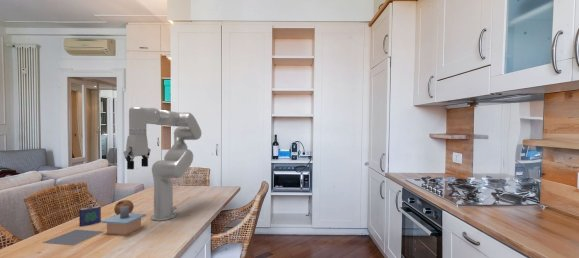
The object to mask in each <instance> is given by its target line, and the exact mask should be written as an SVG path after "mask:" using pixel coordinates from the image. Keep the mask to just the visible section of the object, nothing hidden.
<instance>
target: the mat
mask: <svg viewBox="0 0 579 258" xmlns="http://www.w3.org/2000/svg"><path fill="white" fill-rule="evenodd" d="M103 233H104V231H103V230H101V231H99V230H88V229H86V230H85V229H73V230H70V231H69V232H66V233H63V234H61V235H58V236H56V237H53V238H50V239H48V240H45V241H42V244H49V245H51V244H53V245H62V246H63V245H64V246H75V245H78V244H81V243H82V242H85V241H87V240H89V239H92V238H94V237H96V236H98V235H101V234H103Z"/></svg>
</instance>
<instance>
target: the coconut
mask: <svg viewBox="0 0 579 258" xmlns="http://www.w3.org/2000/svg"><path fill="white" fill-rule="evenodd" d="M123 206H129V213H133V210H134V207H135V206H134V203H133V202H132V201H131V200H129V199H124V200H119V201H118V202H117V203H116V204H115V206H114V209H113V210H114V211H113V212H114V213H115V215H118V214H120V207H123Z"/></svg>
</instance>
